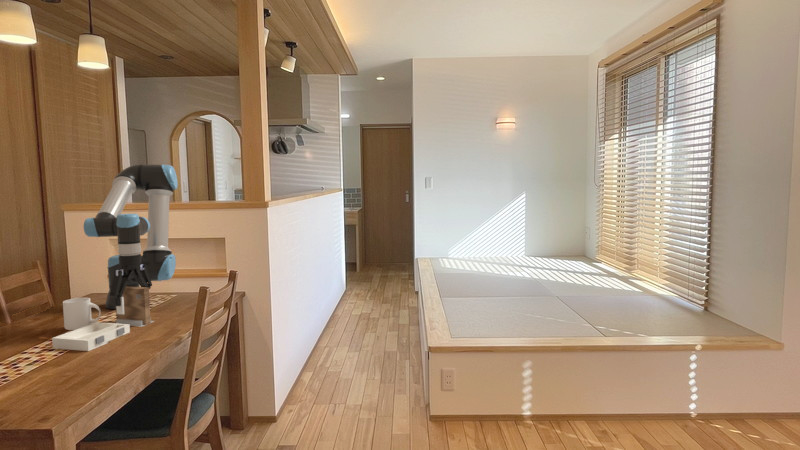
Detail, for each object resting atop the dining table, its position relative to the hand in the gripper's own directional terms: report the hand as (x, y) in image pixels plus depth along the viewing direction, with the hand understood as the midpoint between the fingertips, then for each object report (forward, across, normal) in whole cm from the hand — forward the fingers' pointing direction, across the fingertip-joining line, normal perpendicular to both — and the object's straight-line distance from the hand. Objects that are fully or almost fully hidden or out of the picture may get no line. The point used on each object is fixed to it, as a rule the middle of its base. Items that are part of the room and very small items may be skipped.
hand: (133, 309), depth 182 cm
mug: (+6, +7, -16) cm, 19 cm away
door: (+5, 0, 0) cm, 5 cm away
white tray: (+6, +19, 0) cm, 20 cm away
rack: (+6, 0, 0) cm, 6 cm away
